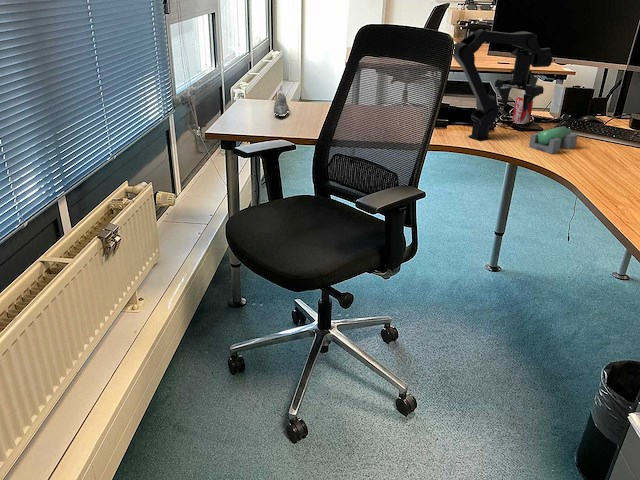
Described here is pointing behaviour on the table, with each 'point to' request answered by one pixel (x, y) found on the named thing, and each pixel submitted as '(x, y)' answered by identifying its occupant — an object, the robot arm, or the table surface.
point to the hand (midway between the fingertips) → (514, 108)
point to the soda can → (521, 111)
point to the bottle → (553, 134)
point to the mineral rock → (281, 105)
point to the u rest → (553, 143)
